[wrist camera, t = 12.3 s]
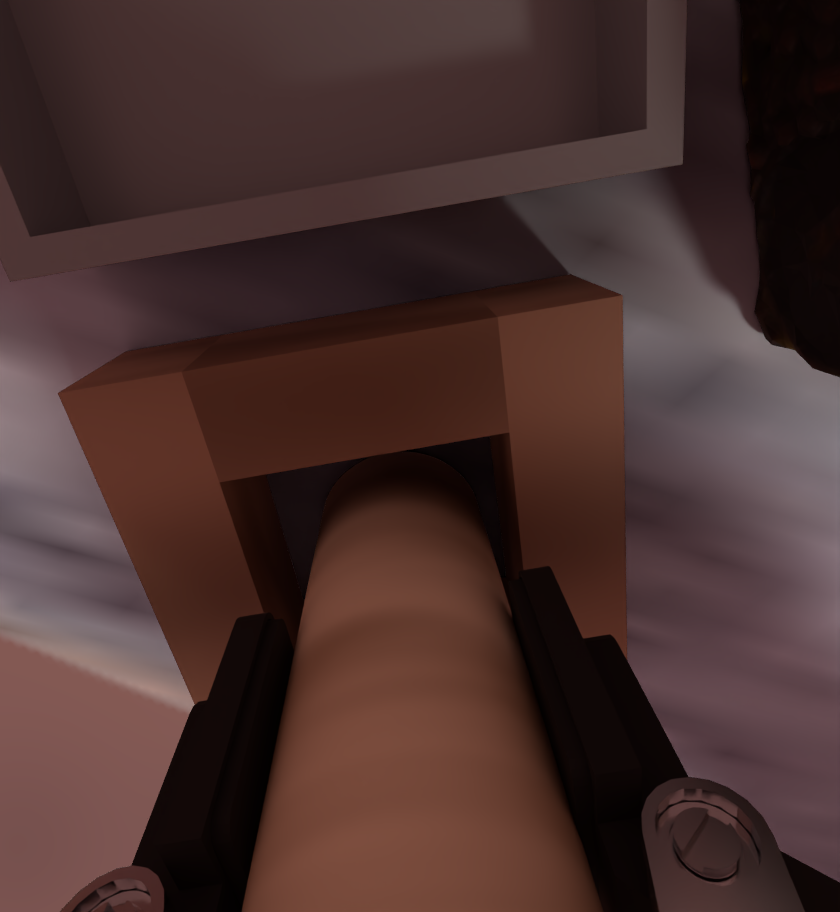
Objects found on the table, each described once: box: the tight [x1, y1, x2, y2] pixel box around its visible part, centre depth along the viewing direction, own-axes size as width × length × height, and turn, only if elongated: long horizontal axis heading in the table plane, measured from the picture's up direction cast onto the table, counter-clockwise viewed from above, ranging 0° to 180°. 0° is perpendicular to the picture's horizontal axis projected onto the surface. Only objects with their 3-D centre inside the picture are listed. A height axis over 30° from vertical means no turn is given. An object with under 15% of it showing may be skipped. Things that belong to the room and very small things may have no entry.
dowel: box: [241, 452, 603, 912], centre depth 9 cm, size 4×4×12 cm
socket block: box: [58, 274, 627, 704], centre depth 14 cm, size 10×10×3 cm
